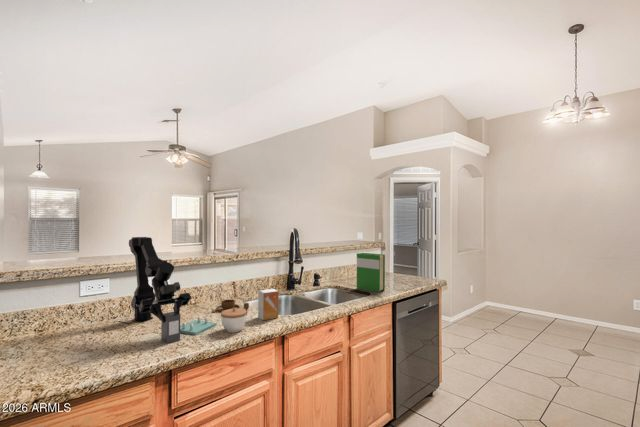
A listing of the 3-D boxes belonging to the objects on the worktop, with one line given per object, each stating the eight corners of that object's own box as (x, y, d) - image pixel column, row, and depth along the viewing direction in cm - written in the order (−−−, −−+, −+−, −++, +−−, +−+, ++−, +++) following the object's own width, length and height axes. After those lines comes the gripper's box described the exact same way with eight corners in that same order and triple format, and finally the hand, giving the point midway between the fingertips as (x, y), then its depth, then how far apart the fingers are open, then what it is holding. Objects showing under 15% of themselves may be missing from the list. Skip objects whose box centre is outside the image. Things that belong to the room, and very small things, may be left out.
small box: (263, 320, 152) (263, 292, 152) (257, 317, 157) (258, 290, 157) (278, 317, 156) (278, 290, 156) (273, 314, 161) (273, 288, 162)
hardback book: (384, 290, 217) (384, 254, 217) (379, 292, 211) (379, 255, 211) (362, 286, 228) (362, 252, 228) (356, 288, 222) (356, 253, 223)
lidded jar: (251, 329, 140) (251, 307, 140) (229, 336, 132) (230, 313, 132) (237, 324, 147) (237, 303, 147) (216, 330, 139) (216, 308, 139)
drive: (161, 339, 128) (161, 313, 128) (174, 336, 131) (174, 311, 131) (166, 343, 124) (167, 317, 124) (180, 340, 127) (180, 314, 127)
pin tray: (173, 331, 137) (173, 323, 137) (194, 322, 149) (194, 314, 149) (195, 335, 133) (196, 326, 133) (216, 325, 145) (216, 317, 145)
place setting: (243, 305, 179) (243, 295, 179) (250, 315, 161) (250, 303, 161) (209, 309, 172) (210, 298, 172) (213, 320, 154) (214, 307, 154)
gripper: (141, 279, 125) (150, 314, 117) (189, 273, 138) (200, 304, 130) (135, 296, 130) (143, 330, 122) (182, 289, 143) (192, 319, 135)
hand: (171, 320), depth 127 cm, fingers closed on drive, 5 cm apart
